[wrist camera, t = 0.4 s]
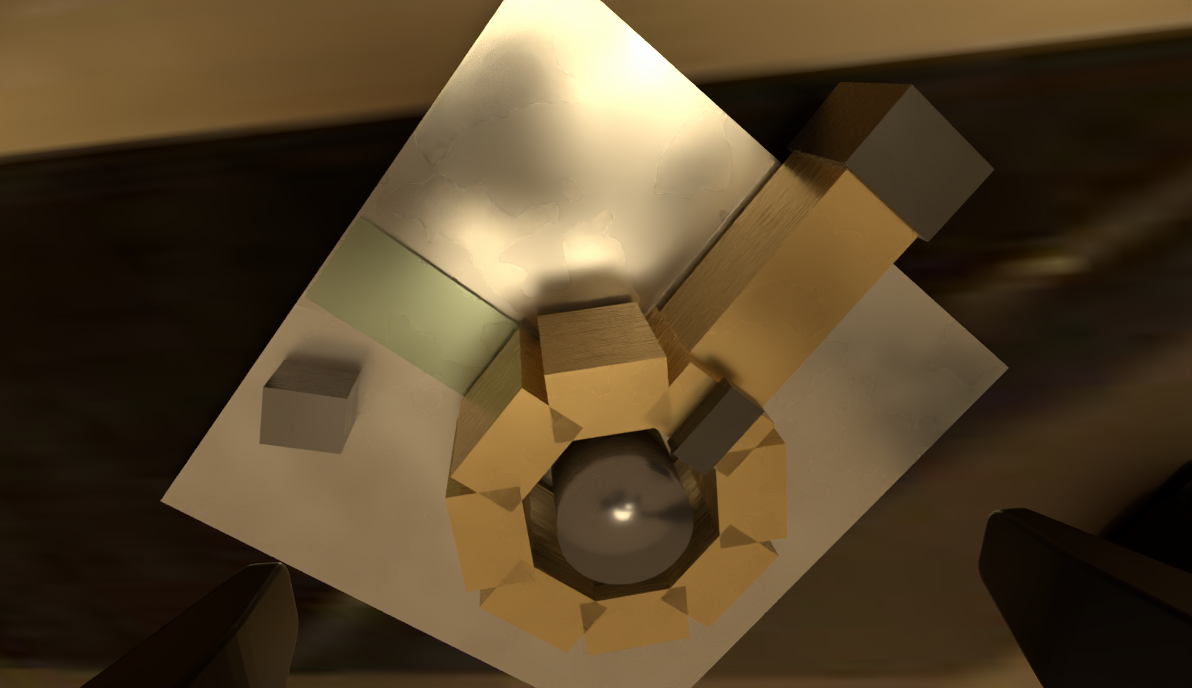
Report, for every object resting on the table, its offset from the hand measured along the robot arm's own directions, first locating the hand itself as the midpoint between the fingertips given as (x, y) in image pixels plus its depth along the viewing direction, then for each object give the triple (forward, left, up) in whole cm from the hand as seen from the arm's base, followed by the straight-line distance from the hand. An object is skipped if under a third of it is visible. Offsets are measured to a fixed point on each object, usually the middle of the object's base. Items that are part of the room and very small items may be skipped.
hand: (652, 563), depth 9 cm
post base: (-3, +3, -12) cm, 13 cm away
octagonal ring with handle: (-3, -1, -11) cm, 11 cm away
